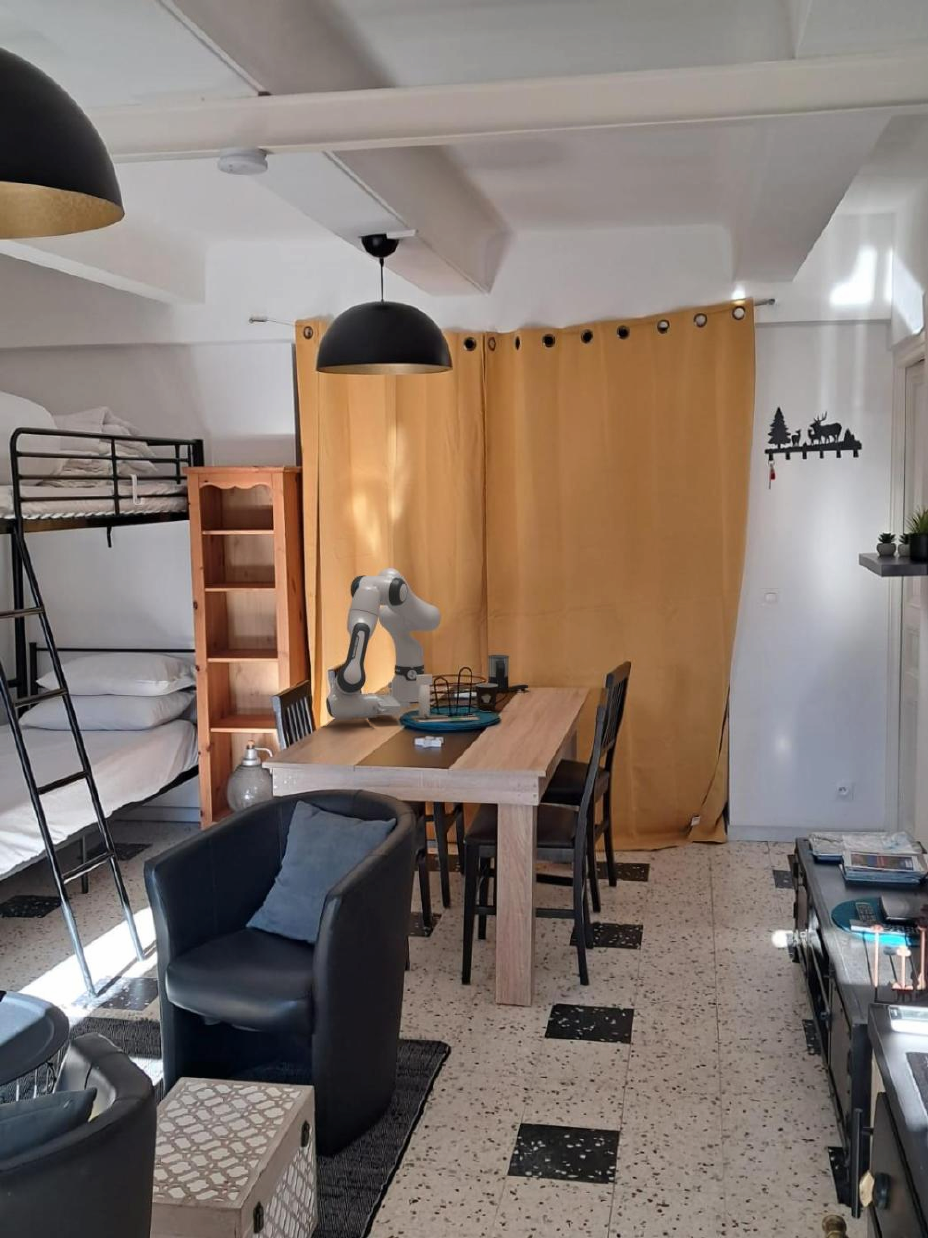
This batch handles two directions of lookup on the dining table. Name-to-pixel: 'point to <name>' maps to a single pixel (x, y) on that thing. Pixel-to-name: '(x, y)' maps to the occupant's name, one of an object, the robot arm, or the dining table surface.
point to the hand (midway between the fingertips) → (409, 704)
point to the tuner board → (445, 718)
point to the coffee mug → (487, 696)
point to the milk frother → (500, 672)
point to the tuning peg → (424, 694)
